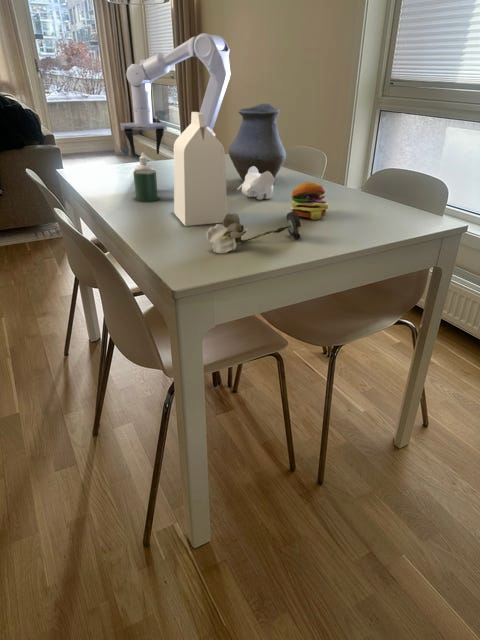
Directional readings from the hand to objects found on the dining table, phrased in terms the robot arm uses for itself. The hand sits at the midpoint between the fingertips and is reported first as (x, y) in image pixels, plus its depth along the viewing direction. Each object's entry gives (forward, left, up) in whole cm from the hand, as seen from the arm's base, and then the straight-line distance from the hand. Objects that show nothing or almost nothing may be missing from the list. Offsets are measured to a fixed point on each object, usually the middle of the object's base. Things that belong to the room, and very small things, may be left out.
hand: (146, 153), depth 149 cm
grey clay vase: (-29, -26, -11) cm, 40 cm away
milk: (-34, +24, -11) cm, 43 cm away
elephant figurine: (-39, -3, -11) cm, 40 cm away
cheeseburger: (-59, +7, -11) cm, 60 cm away
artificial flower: (-56, +36, -11) cm, 67 cm away
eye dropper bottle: (-4, +7, -11) cm, 14 cm away
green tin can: (-10, +15, -10) cm, 21 cm away
